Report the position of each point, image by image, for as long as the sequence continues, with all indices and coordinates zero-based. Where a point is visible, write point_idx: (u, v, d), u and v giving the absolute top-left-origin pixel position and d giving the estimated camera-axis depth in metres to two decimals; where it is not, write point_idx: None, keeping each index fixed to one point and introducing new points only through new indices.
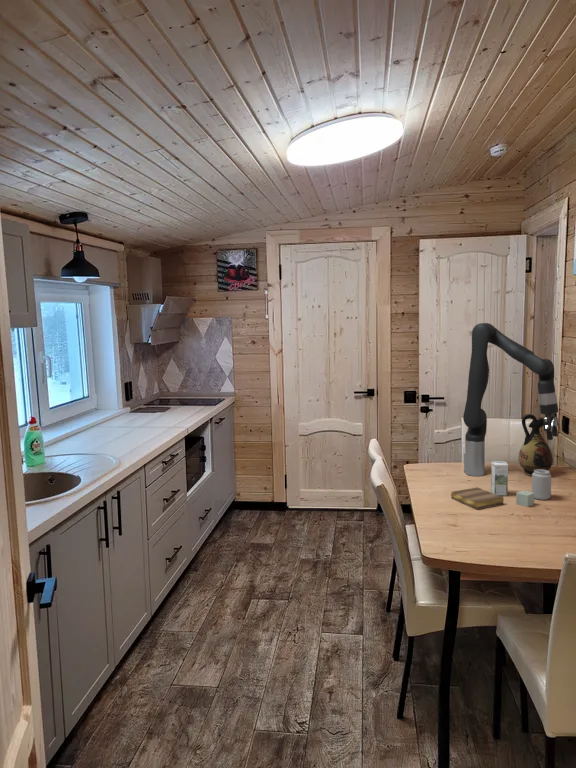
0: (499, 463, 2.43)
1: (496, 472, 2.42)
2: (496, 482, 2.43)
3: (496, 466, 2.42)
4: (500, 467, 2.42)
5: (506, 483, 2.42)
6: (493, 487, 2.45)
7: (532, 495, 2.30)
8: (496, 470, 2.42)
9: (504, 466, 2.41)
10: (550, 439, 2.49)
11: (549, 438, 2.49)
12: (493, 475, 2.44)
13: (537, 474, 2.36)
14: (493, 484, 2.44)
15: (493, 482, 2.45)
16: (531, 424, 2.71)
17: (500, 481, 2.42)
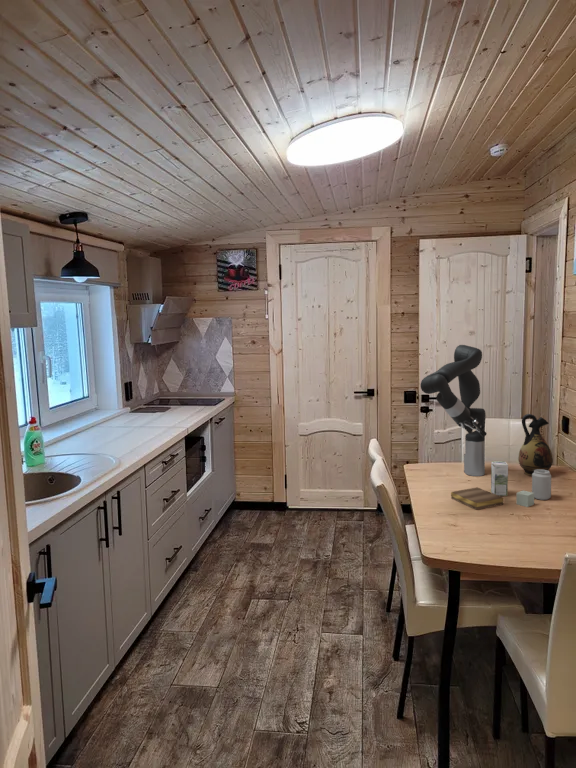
0: (499, 463, 2.43)
1: (496, 472, 2.42)
2: (496, 482, 2.43)
3: (496, 466, 2.42)
4: (500, 467, 2.42)
5: (506, 483, 2.42)
6: (493, 487, 2.45)
7: (532, 495, 2.30)
8: (496, 470, 2.42)
9: (504, 466, 2.41)
10: None
11: None
12: (493, 475, 2.44)
13: (537, 474, 2.36)
14: (493, 484, 2.44)
15: (493, 482, 2.45)
16: (531, 424, 2.71)
17: (500, 481, 2.42)
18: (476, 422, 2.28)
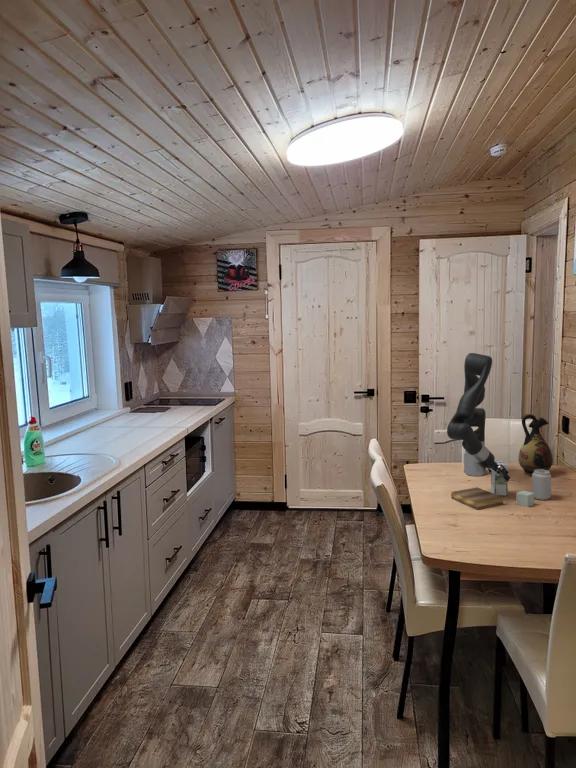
0: (499, 463, 2.43)
1: None
2: (496, 482, 2.43)
3: None
4: None
5: (506, 483, 2.42)
6: (493, 487, 2.45)
7: (532, 495, 2.30)
8: None
9: (504, 466, 2.41)
10: None
11: None
12: (493, 475, 2.44)
13: (537, 474, 2.36)
14: (493, 484, 2.44)
15: (493, 482, 2.45)
16: (531, 424, 2.71)
17: (500, 481, 2.42)
18: (501, 468, 2.36)
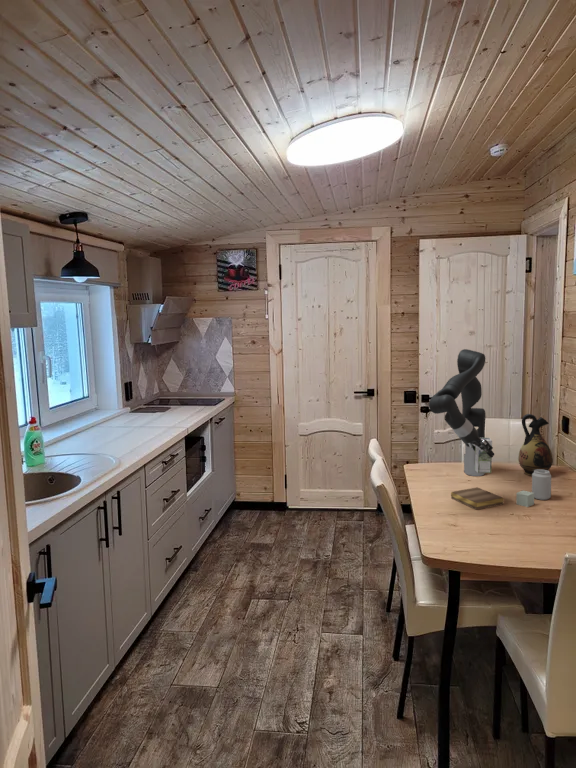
0: (483, 439, 2.35)
1: None
2: (479, 458, 2.34)
3: None
4: None
5: (490, 460, 2.34)
6: (477, 464, 2.36)
7: (532, 495, 2.30)
8: (480, 446, 2.34)
9: (488, 442, 2.33)
10: None
11: None
12: (477, 451, 2.36)
13: (537, 474, 2.36)
14: (477, 461, 2.36)
15: (477, 459, 2.36)
16: (531, 424, 2.71)
17: (484, 457, 2.34)
18: (484, 443, 2.28)
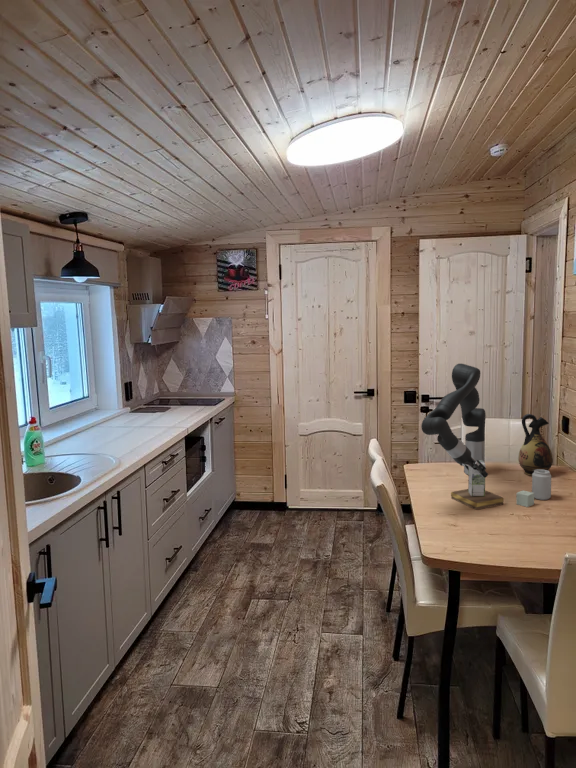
0: None
1: (473, 472, 2.33)
2: (473, 482, 2.34)
3: None
4: None
5: (483, 483, 2.34)
6: (470, 487, 2.36)
7: (532, 495, 2.30)
8: (473, 470, 2.33)
9: None
10: None
11: None
12: (470, 475, 2.35)
13: (537, 474, 2.36)
14: (470, 485, 2.36)
15: (470, 482, 2.36)
16: (531, 424, 2.71)
17: (478, 481, 2.34)
18: (477, 464, 2.27)
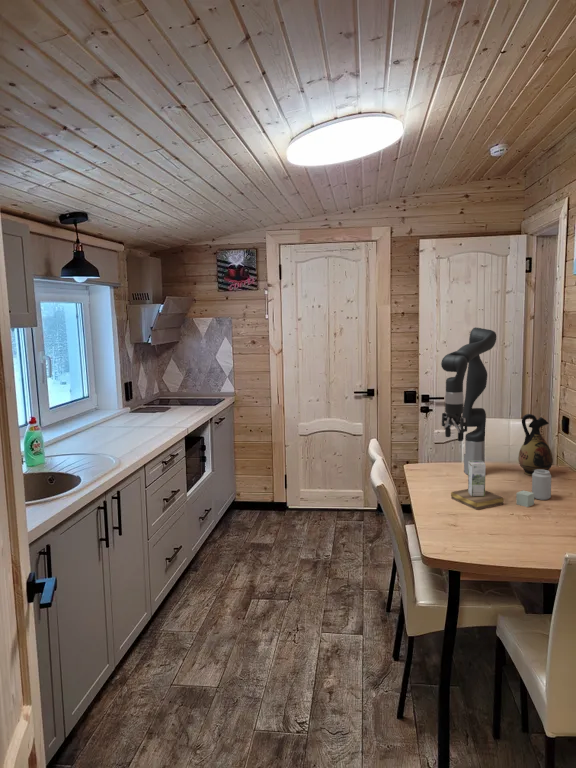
0: (476, 462, 2.34)
1: (473, 472, 2.33)
2: (473, 482, 2.34)
3: (473, 466, 2.33)
4: (477, 467, 2.33)
5: (483, 483, 2.34)
6: (470, 487, 2.36)
7: (532, 495, 2.30)
8: (473, 470, 2.33)
9: (481, 465, 2.33)
10: None
11: None
12: (470, 475, 2.35)
13: (537, 474, 2.36)
14: (470, 485, 2.36)
15: (470, 482, 2.36)
16: (531, 424, 2.71)
17: (478, 481, 2.34)
18: (464, 420, 2.31)
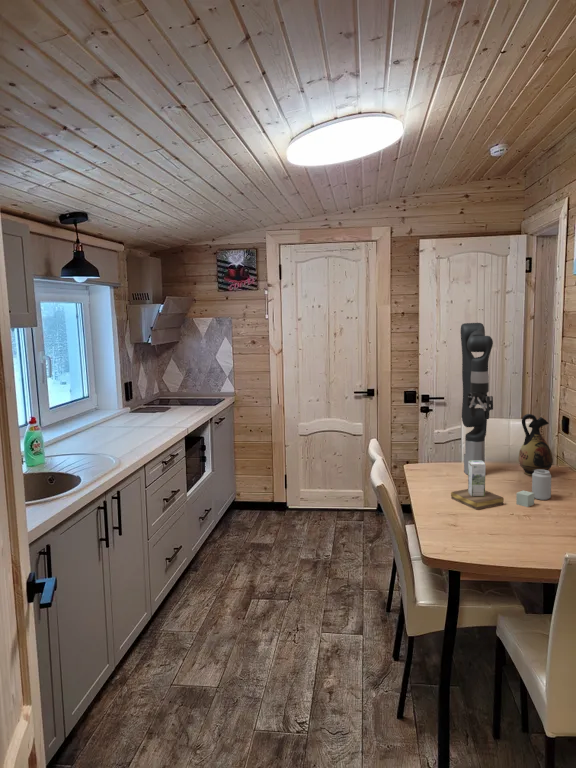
0: (476, 462, 2.34)
1: (473, 472, 2.33)
2: (473, 482, 2.34)
3: (473, 466, 2.33)
4: (477, 467, 2.33)
5: (483, 483, 2.34)
6: (470, 487, 2.36)
7: (532, 495, 2.30)
8: (473, 470, 2.33)
9: (481, 465, 2.33)
10: (471, 415, 2.49)
11: None
12: (470, 475, 2.35)
13: (537, 474, 2.36)
14: (470, 485, 2.36)
15: (470, 482, 2.36)
16: (531, 424, 2.71)
17: (478, 481, 2.34)
18: (490, 398, 2.38)
